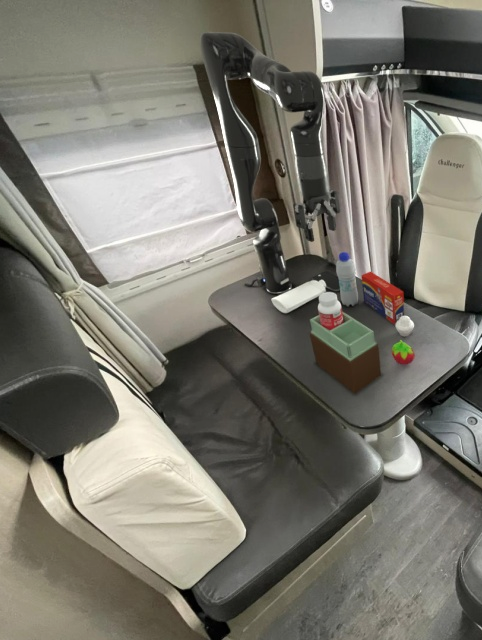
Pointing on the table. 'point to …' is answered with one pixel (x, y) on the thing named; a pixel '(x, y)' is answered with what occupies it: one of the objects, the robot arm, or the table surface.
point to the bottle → (347, 279)
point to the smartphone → (328, 281)
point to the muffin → (404, 326)
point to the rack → (346, 352)
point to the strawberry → (402, 353)
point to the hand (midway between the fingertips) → (321, 235)
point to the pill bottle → (330, 311)
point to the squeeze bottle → (299, 296)
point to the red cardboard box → (383, 297)
